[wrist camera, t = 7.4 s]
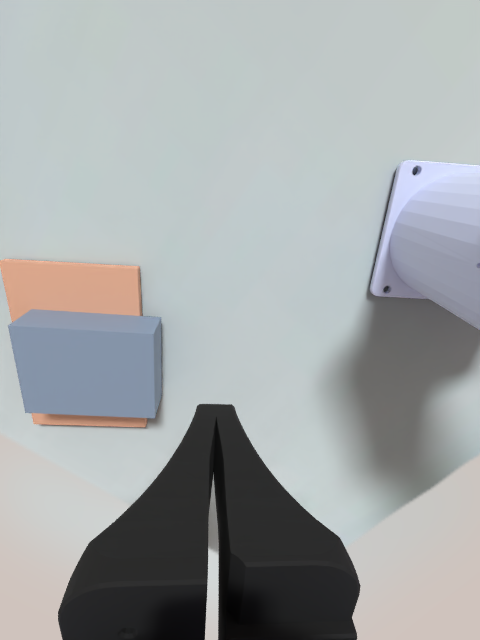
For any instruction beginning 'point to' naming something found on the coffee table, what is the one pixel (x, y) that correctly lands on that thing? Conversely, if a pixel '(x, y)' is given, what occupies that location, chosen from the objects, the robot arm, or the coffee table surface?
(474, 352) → the coffee table surface
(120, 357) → the slab
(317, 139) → the coffee table surface
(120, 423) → the mat
